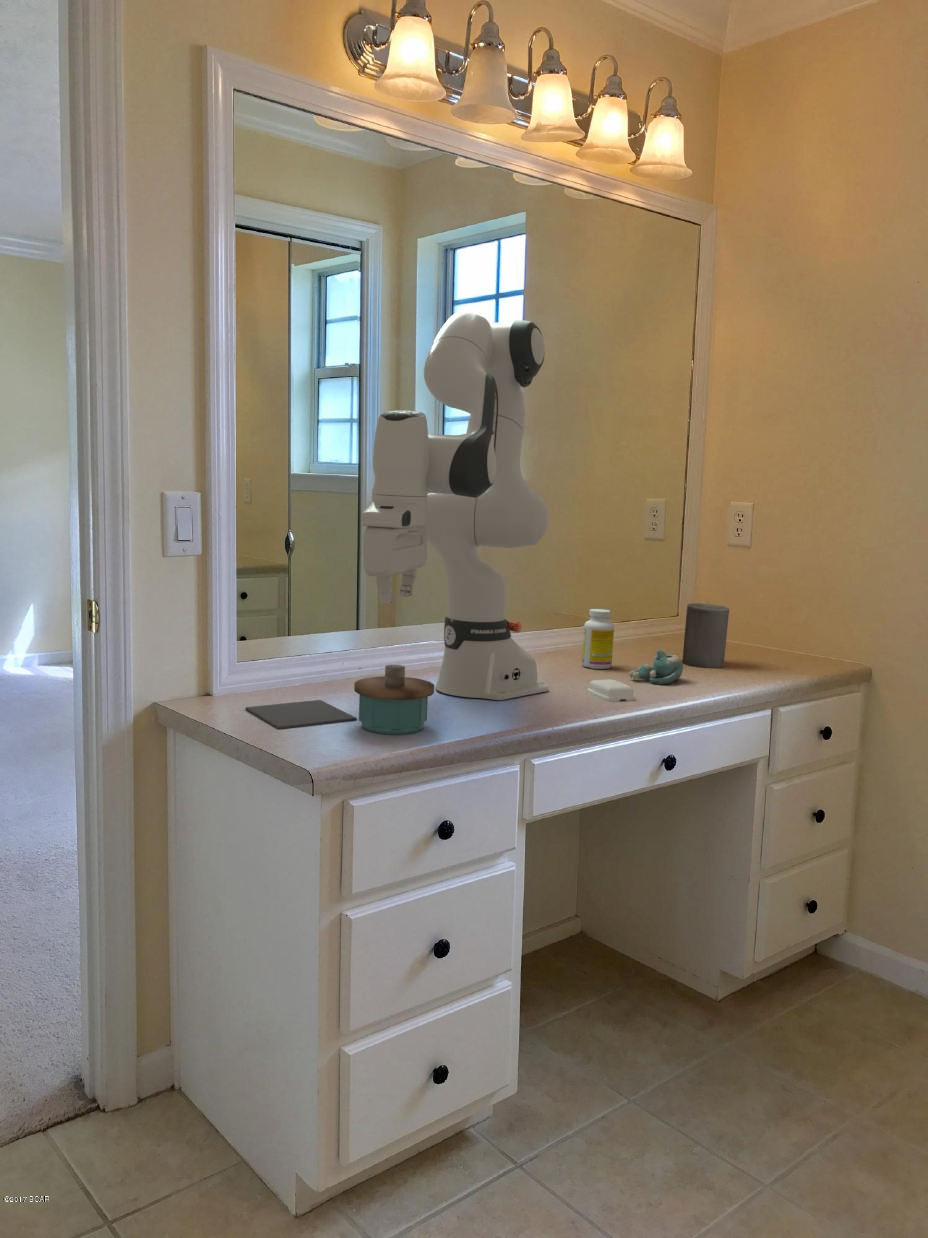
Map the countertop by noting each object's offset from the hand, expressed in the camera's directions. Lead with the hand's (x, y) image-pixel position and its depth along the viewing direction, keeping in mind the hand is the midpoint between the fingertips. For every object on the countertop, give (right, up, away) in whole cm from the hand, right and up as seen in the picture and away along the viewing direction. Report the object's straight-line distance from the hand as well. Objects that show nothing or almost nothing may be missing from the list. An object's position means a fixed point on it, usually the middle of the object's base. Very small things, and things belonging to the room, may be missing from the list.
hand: (396, 599), depth 157 cm
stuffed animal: (+52, -17, +50) cm, 74 cm away
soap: (+40, -19, +33) cm, 55 cm away
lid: (0, -15, +2) cm, 15 cm away
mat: (-17, -19, +8) cm, 27 cm away
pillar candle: (+67, -14, +71) cm, 99 cm away
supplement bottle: (+41, -14, +62) cm, 75 cm away
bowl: (-1, -21, +3) cm, 21 cm away
